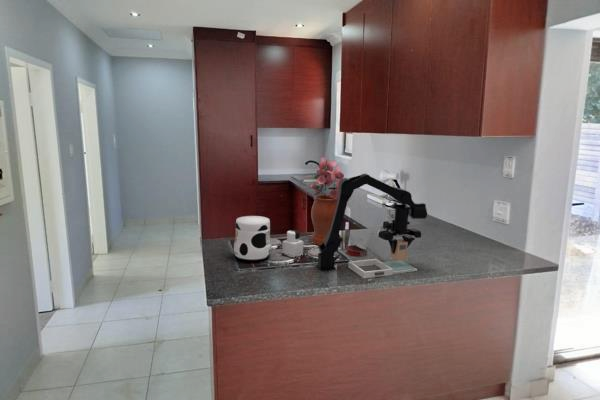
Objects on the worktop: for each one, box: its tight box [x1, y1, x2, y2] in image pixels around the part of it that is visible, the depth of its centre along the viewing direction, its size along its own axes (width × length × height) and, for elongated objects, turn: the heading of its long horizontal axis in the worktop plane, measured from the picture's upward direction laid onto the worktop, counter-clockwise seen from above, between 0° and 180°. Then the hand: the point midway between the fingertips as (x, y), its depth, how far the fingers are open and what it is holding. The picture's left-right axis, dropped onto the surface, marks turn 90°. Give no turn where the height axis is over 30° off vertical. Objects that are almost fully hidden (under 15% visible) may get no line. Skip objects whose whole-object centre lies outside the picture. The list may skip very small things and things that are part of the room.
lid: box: [381, 260, 418, 275], centre depth 180 cm, size 13×12×1 cm
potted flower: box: [309, 156, 345, 246], centre depth 213 cm, size 19×25×45 cm
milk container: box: [233, 215, 272, 262], centre depth 186 cm, size 17×17×18 cm
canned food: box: [345, 235, 368, 258], centre depth 198 cm, size 11×10×10 cm
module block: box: [389, 238, 408, 261], centre depth 178 cm, size 5×5×8 cm
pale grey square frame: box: [347, 258, 394, 279], centre depth 174 cm, size 14×15×2 cm
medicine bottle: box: [282, 229, 304, 257], centre depth 192 cm, size 7×7×12 cm
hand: (398, 253), depth 179 cm, fingers closed on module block, 5 cm apart
